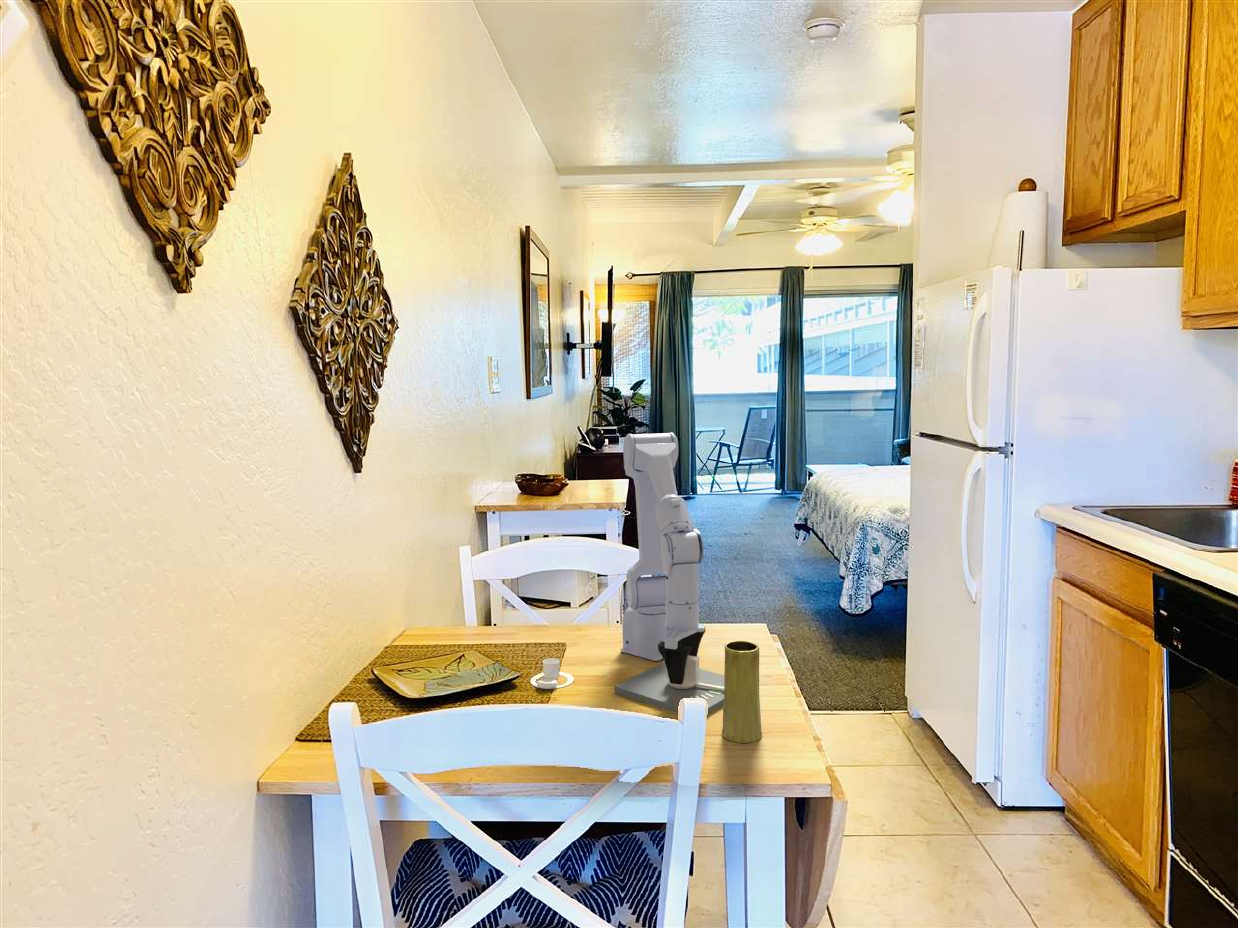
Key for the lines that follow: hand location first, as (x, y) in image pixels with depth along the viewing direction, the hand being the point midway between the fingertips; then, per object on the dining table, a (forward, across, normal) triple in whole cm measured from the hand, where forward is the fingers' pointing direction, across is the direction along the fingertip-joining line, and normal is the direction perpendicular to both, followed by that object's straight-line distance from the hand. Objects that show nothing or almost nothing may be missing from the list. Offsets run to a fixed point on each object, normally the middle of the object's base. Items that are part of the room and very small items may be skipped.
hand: (682, 675), depth 140 cm
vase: (+3, -13, -13) cm, 19 cm away
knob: (+2, 0, -3) cm, 3 cm away
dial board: (+3, 0, 0) cm, 3 cm away
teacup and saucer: (+4, -5, +26) cm, 27 cm away
